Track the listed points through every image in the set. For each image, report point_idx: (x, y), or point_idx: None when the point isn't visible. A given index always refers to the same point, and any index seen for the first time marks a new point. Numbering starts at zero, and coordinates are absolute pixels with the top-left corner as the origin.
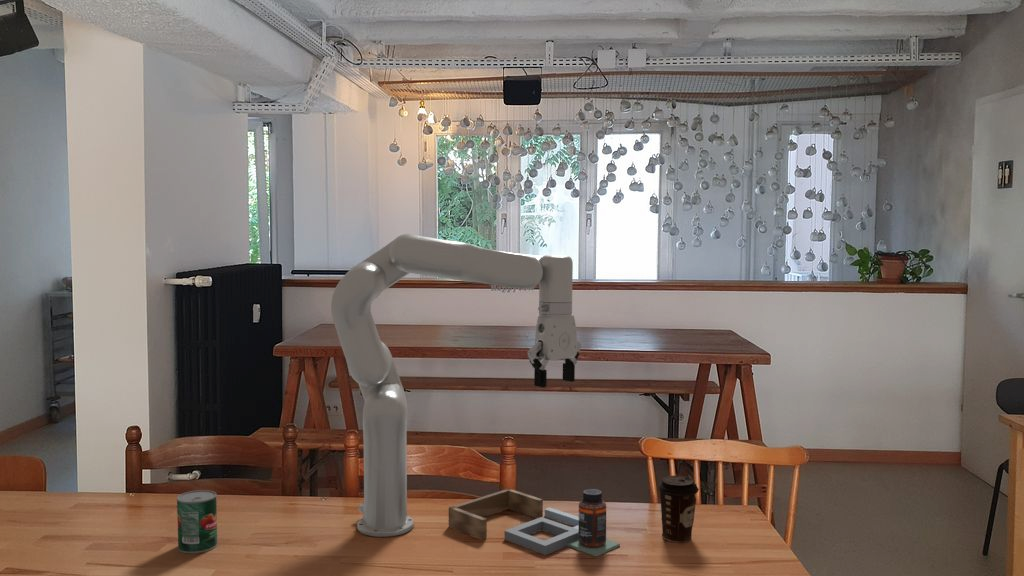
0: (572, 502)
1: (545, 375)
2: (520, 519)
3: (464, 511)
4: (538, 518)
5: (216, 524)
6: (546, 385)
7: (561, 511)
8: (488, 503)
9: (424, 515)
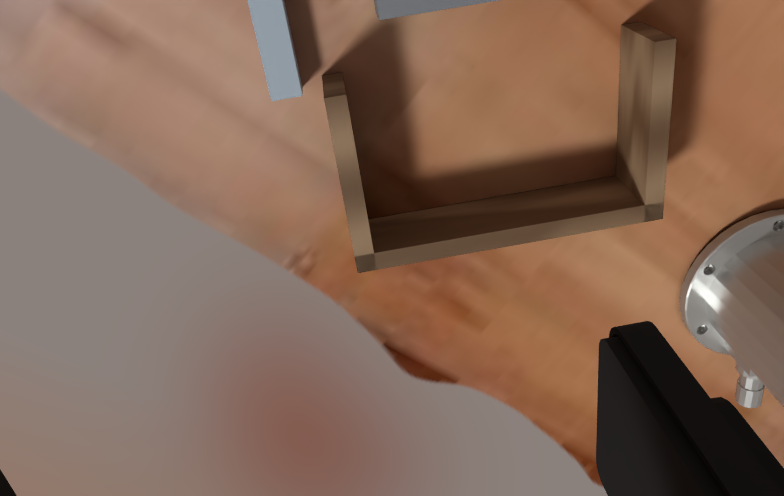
0: (108, 148)
1: (735, 456)
2: (399, 113)
3: (654, 155)
4: (401, 12)
5: None
6: (609, 341)
7: (258, 34)
8: (477, 222)
9: (615, 304)
